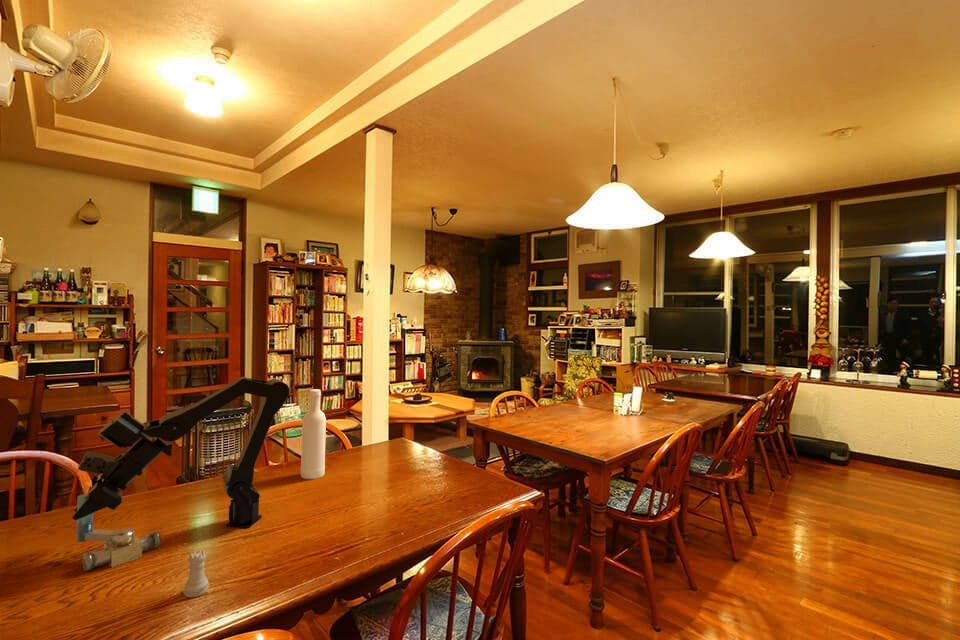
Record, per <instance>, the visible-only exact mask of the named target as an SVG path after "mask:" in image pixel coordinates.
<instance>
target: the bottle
mask: <svg viewBox="0 0 960 640" xmlns="http://www.w3.org/2000/svg"><path fill="white" fill-rule="evenodd" d="M321 395H322V393H321V389H319V388H318V389H317V388H316V389H314V388H312V389H310V390H309V393H308V396H309V399H308V401H309V403H308V404H309V405H308V410H307V412H305V413H304V414H303V418H302V420H301V421H302V423H301V424H302V426H301V454H300V455H301V457H300V458H301V459H300V477H301V478H302V479H304V480H317V479H321V478H322V477H323V476H325V473H326V472H325V470H326V438H327V437H326V436H327V435H326V434H327V430H326V429H327V416H326V415H325V413H324V411H322V410H321Z"/></svg>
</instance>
